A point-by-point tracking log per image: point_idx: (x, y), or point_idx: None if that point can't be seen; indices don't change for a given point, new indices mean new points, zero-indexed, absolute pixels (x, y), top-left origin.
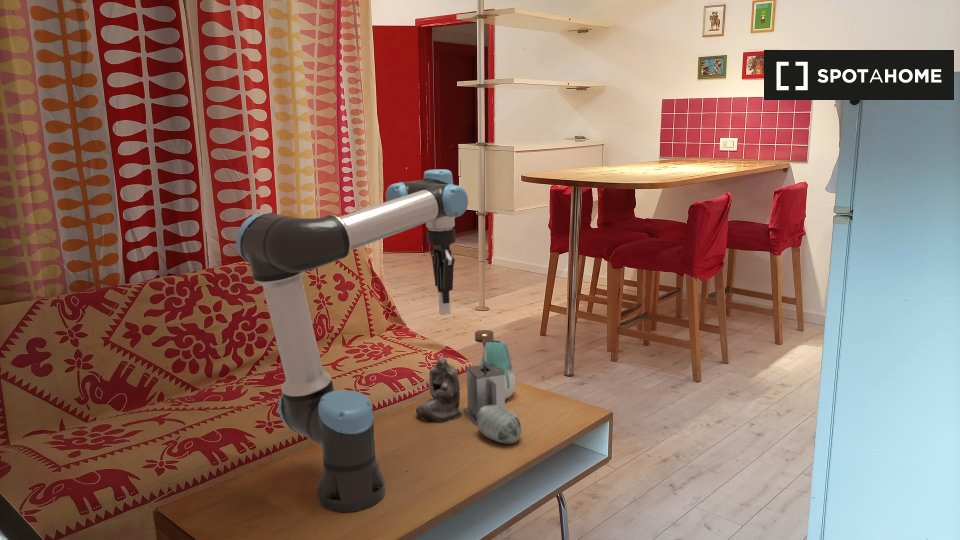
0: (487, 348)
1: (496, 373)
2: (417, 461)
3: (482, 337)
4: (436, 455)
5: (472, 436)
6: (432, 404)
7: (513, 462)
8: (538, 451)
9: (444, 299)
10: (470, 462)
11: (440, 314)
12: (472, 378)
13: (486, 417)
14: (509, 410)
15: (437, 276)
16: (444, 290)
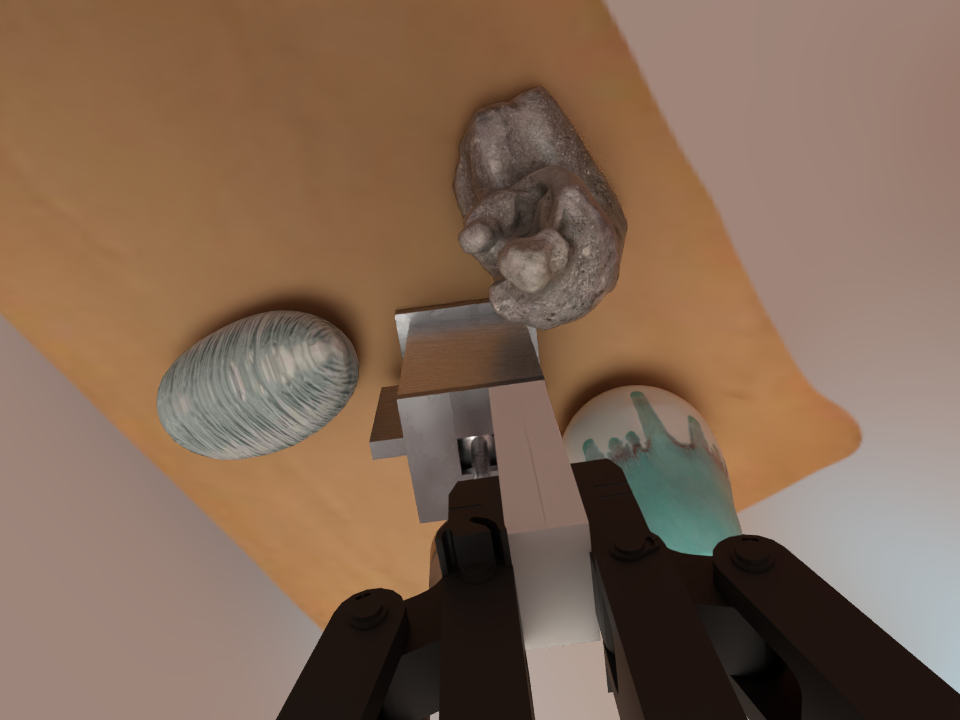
0: (669, 527)
1: (418, 490)
2: (119, 21)
3: (434, 557)
4: (162, 110)
5: (302, 277)
6: (481, 162)
7: (78, 364)
8: (149, 454)
9: (450, 516)
10: (91, 225)
11: (513, 384)
12: (457, 379)
13: (235, 352)
14: (244, 447)
15: (689, 707)
16: (341, 611)
